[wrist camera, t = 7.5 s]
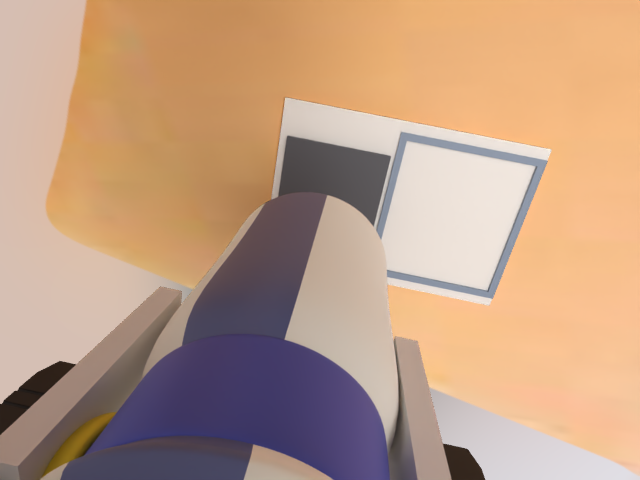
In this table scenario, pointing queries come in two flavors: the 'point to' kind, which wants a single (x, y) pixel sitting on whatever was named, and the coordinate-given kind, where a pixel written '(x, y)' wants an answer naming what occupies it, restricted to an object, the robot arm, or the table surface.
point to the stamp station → (416, 191)
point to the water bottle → (263, 363)
